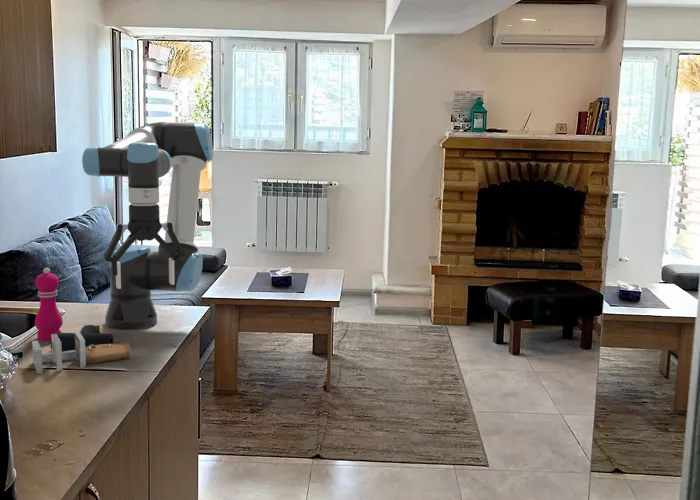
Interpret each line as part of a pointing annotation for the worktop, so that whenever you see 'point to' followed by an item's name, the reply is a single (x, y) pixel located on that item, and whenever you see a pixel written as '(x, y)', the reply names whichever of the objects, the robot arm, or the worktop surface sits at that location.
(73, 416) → the worktop surface
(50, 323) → the pepper mill
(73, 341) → the pipe connector
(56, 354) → the grey slatted rack
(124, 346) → the tube
